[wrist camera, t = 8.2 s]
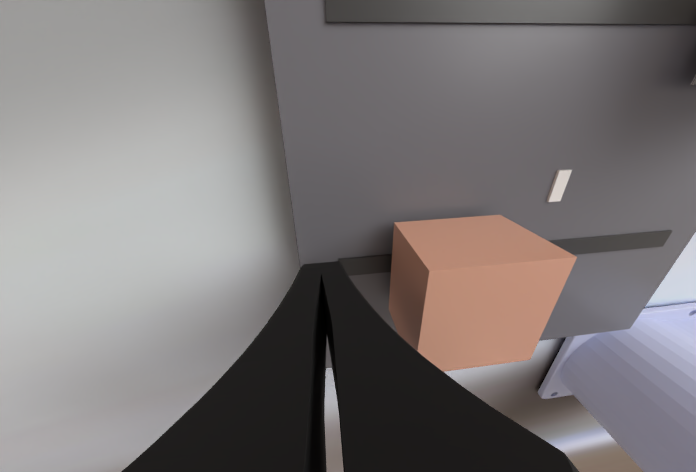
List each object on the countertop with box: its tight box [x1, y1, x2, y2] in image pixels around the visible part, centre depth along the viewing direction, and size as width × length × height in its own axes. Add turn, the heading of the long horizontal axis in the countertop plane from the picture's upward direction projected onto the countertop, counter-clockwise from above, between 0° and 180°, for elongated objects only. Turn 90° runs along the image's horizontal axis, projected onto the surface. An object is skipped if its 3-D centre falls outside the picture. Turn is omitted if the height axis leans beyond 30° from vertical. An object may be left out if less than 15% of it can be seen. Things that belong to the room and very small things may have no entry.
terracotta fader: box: [389, 215, 577, 372], centre depth 8 cm, size 4×4×3 cm
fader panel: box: [264, 0, 696, 368], centre depth 9 cm, size 18×20×2 cm
